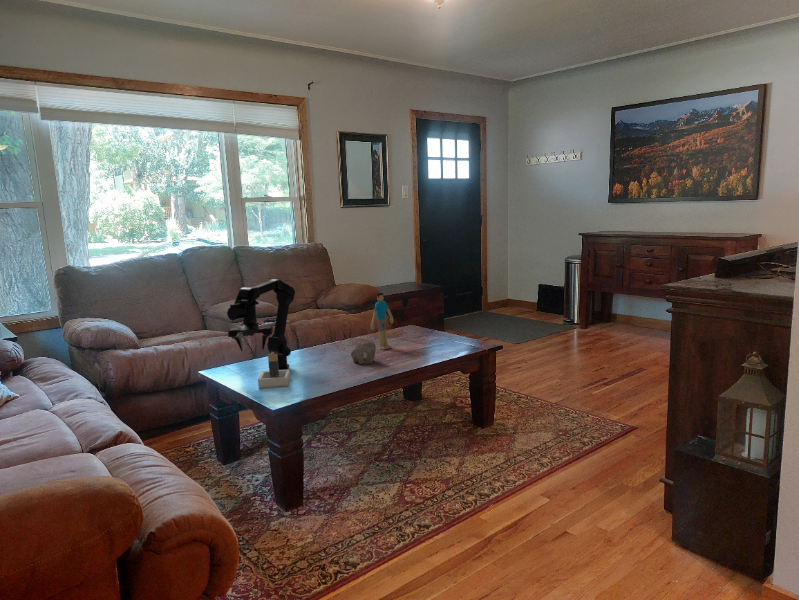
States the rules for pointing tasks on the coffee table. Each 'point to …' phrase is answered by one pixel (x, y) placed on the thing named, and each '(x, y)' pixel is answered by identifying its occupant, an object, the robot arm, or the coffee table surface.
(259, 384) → the bin
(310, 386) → the coffee table surface
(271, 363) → the cell
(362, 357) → the rock
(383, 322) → the figurine
